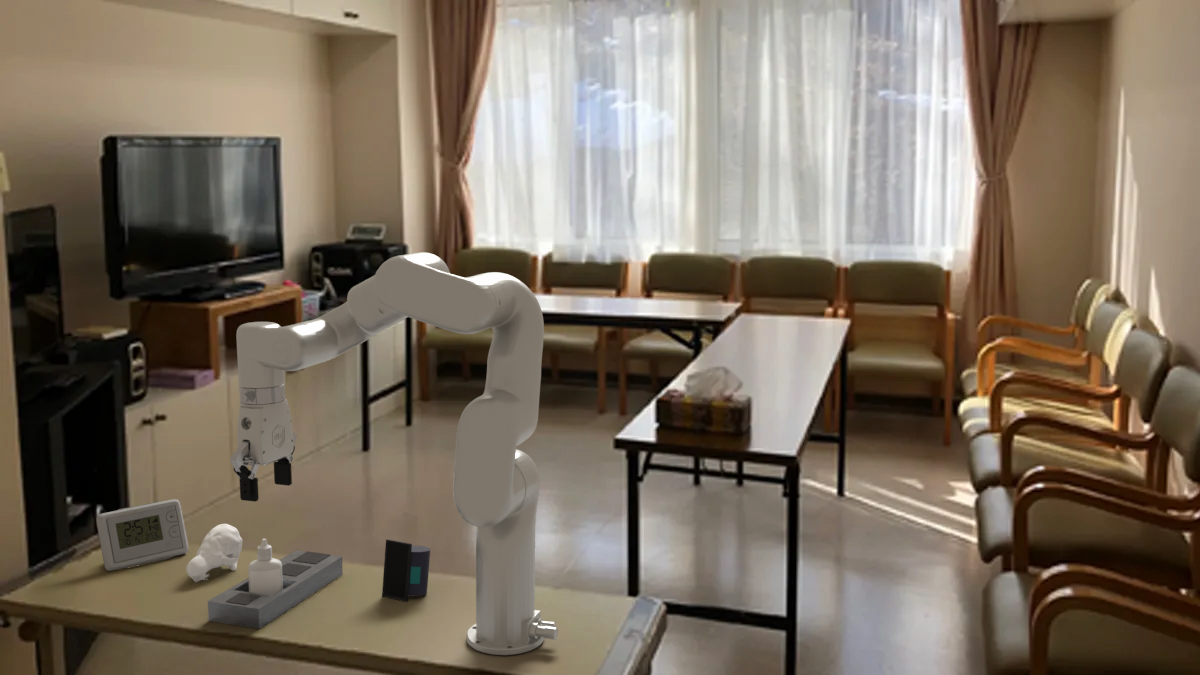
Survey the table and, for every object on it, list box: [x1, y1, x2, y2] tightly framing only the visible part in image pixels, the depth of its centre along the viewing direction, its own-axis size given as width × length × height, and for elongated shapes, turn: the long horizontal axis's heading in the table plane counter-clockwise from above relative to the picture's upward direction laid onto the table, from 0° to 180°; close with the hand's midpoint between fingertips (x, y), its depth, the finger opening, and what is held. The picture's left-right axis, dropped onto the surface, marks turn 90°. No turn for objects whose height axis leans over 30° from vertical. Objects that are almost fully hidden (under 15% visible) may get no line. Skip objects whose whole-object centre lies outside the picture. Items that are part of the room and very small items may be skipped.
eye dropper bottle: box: [247, 538, 283, 596], centre depth 189 cm, size 4×6×12 cm
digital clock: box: [95, 498, 189, 572], centre depth 210 cm, size 16×9×11 cm, turn 122°
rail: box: [207, 549, 343, 630], centre depth 193 cm, size 10×26×4 cm, turn 162°
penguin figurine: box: [185, 523, 244, 583], centre depth 203 cm, size 6×8×12 cm
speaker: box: [381, 539, 431, 602], centre depth 194 cm, size 8×6×10 cm
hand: (266, 492), depth 186 cm, fingers open, 9 cm apart
